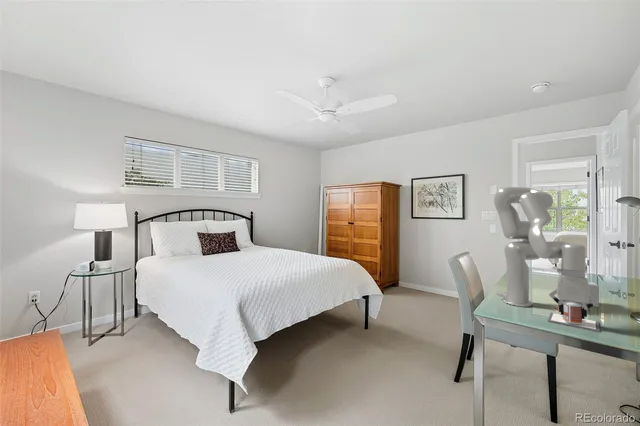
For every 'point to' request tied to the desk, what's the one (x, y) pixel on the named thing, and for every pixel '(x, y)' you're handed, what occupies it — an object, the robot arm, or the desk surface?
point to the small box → (594, 292)
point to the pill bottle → (572, 312)
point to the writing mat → (585, 324)
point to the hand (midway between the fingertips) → (572, 315)
